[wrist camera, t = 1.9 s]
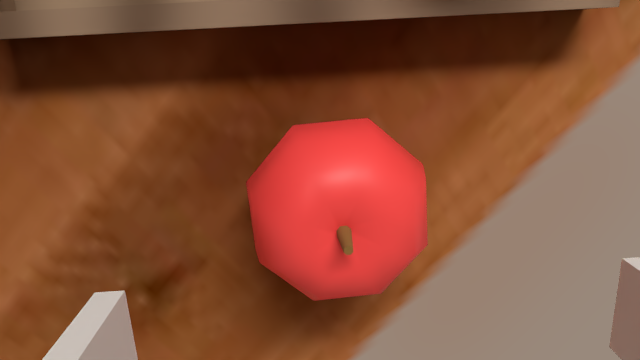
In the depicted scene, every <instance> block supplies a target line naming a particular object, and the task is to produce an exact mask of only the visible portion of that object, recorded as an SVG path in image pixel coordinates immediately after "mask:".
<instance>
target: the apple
mask: <svg viewBox="0 0 640 360" xmlns="http://www.w3.org/2000/svg"><path fill="white" fill-rule="evenodd" d="M246 186H247V193H248V200H249V207H250V214H251V221H252V228H253V235H254V242H255V249H256V253H257V256H258V260H259V263H261V264H262V265H263V266H265V267H266V268H268V269H269V270H271V271H272V272H273V273H275V274H276V275H278V276H279V277H281V278H282V279H283V280H285V281H286V282H288V283H289V284H290V285H292V286H293V287H295V288H296V289H298V290H299V291H300V292H302V293H303V294H305V295H306V296H307V297H309V298H310V299H312V300H313V301H317V300H326V299H335V298H344V297H354V296H363V295H372V294H381V293H382V292H383V291H384V290H385V289H386V288H387V287H388V286H389V285H390V284H391V283H392V282H393V281H394V280H395V278H396V277H397V276H398V275H399V274H400V273H401V272H402V271H403V270H404V269H405V268H406V267H407V266H408V265H409V264H410V263H411V262H412V261H413V260H414V259H415V257H416V256H417V255H418V254H419V253H420V252H421V251H422V250H423V249H424V248H425V247H426V246H427V245H428V243H427V203H426V177H425V172H424V167H423V164H422V163H421V162H420V161H418V160H417V159H416V158H415V157H414V156H412V155H411V154H410V153H409V152H408V151H407V150H405V149H404V148H403V147H402V146H401V145H399V144H398V143H397V142H396V141H395V140H394V139H392V138H391V137H390V136H389V135H388V134H386V133H385V132H384V131H383V130H382V129H380V128H379V127H378V126H377V125H376V124H375V123H373V122H372V121H371V120H370V119H369V118H363V119H350V120H340V121H330V122H320V123H309V124H299V125H294V126H292V127H291V128H290V129H289V131H288V132H287V133H286V134H285V136H284V137H283V138H282V139H281V140H280V142H279V143H278V144H277V145H276V146H275V148H274V149H273V150H272V151H271V153H270V154H269V155H268V156H267V157H266V159H265V160H264V161H263V162H262V163H261V165H260V166H259V167H258V168H257V170H256V171H255V172H254V173H253V174H252V176H251V177H250V178H249V179H248V181H247V182H246Z"/></svg>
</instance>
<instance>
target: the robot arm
mask: <svg viewBox="0 0 640 360" xmlns="http://www.w3.org/2000/svg"><path fill="white" fill-rule="evenodd" d="M609 347H610V348H611V349H612V350H613V351H614V352H615V353H616V354H617V355H618V356H619V357H620V358H621V359H622V360H640V257H636V258H622V262H621V269H620V276H619V284H618V291H617V297H616V304H615V311H614V318H613V325H612V332H611V339H610V346H609ZM42 360H138V358H137V353H136V348H135V342H134V337H133V332H132V326H131V321H130V316H129V310H128V305H127V300H126V295H125V291H112V292H96V293H94V294H93V296H92V297H91V298H90V300H89V301H88V302H87V303H86V305H85V306H84V307H83V308H82V310H81V311H80V312H79V314H78V315H77V316H76V317H75V319H74V320H73V321H72V322H71V324H70V325H69V326H68V328H67V329H66V330H65V331H64V333H63V334H62V335H61V336H60V338H59V339H58V340H57V341H56V343H55V344H54V345H53V347H52V348H51V349H50V350H49V352H48V353H47V354H46V355H45V357H44V358H43V359H42Z"/></svg>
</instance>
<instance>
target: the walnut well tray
mask: <svg viewBox="0 0 640 360" xmlns="http://www.w3.org/2000/svg"><path fill="white" fill-rule="evenodd" d="M619 2H620V0H0V39H20V38H40V37H59V36H78V35H97V34H116V33H136V32H155V31H174V30H193V29H212V28H232V27H251V26H270V25H289V24H308V23H328V22H347V21H366V20H385V19H404V18H424V17H443V16H462V15H481V14H500V13H520V12H539V11H558V10H577V9H594V8H608V7H619Z"/></svg>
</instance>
